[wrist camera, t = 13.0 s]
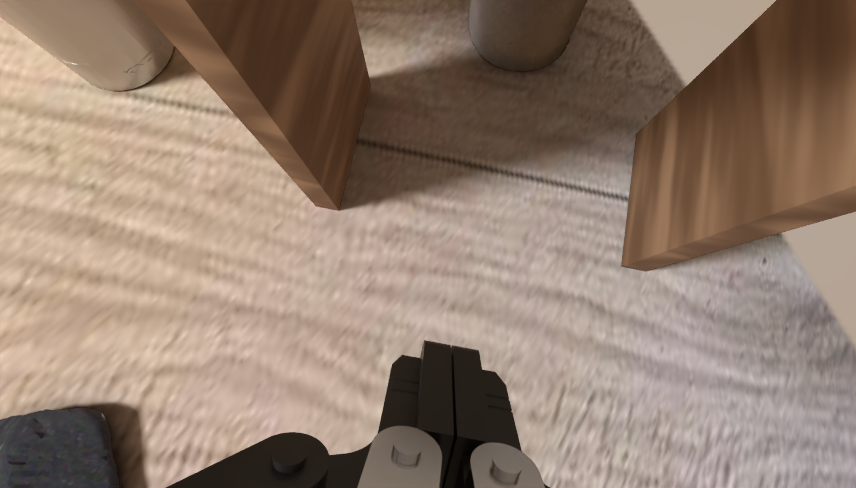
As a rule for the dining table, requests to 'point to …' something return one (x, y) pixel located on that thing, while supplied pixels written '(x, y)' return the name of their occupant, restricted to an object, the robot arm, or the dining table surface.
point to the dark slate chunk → (57, 450)
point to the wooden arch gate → (655, 143)
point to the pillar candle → (522, 30)
